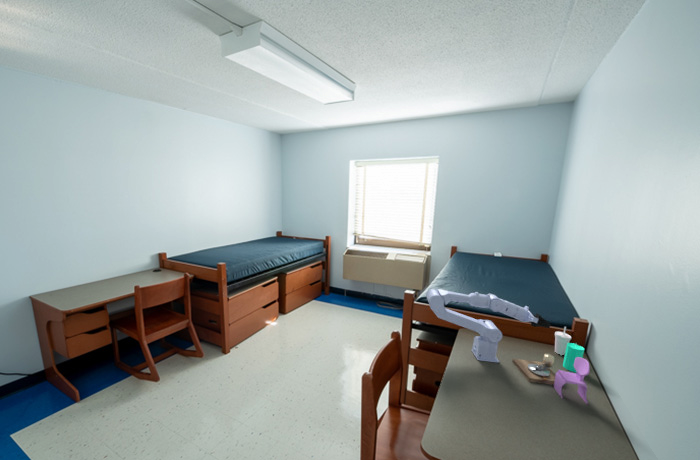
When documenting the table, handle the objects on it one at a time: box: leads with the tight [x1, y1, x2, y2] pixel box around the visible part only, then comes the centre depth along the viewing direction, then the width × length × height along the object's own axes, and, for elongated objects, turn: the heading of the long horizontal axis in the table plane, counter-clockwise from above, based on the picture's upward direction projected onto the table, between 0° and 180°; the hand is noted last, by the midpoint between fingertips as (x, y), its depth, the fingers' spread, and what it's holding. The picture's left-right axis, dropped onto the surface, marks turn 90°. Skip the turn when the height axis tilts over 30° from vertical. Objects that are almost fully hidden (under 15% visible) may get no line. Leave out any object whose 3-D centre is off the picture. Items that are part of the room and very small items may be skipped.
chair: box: [553, 357, 590, 405], centre depth 101 cm, size 8×9×15 cm
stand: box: [512, 358, 556, 386], centre depth 114 cm, size 13×13×2 cm
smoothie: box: [554, 326, 572, 356], centre depth 130 cm, size 6×6×14 cm
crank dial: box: [528, 353, 556, 377], centre depth 113 cm, size 12×8×5 cm, turn 116°
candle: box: [562, 342, 585, 373], centre depth 119 cm, size 6×6×12 cm
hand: (543, 322), depth 118 cm, fingers open, 7 cm apart
